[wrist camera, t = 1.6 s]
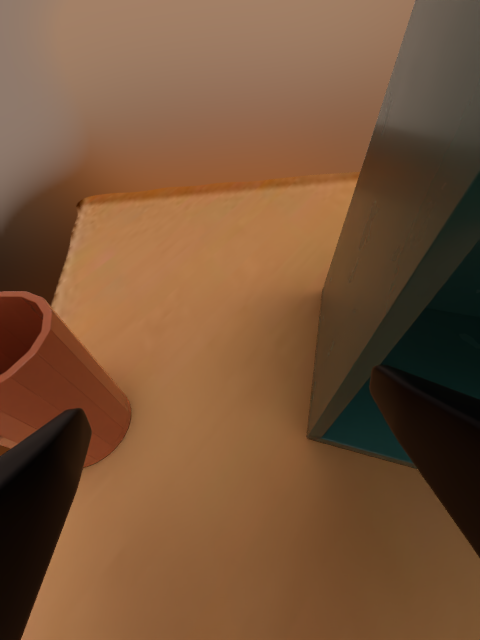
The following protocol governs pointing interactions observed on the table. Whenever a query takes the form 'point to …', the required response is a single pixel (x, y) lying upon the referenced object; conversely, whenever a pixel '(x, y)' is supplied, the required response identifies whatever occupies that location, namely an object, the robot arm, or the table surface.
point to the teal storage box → (408, 239)
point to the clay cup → (53, 377)
